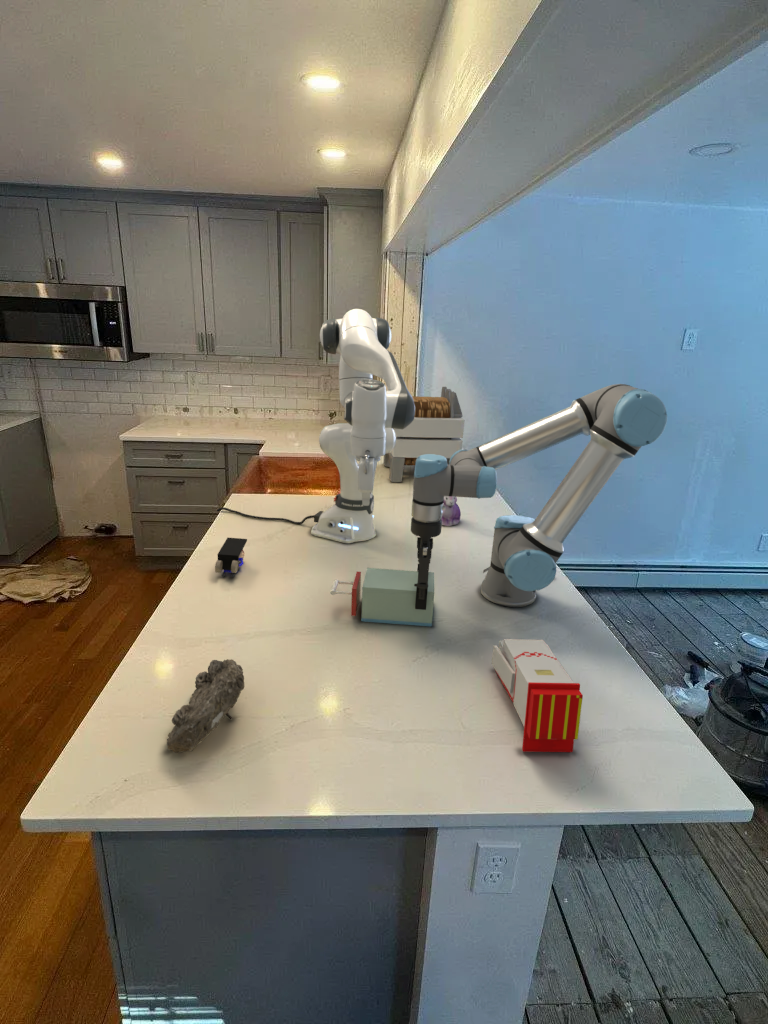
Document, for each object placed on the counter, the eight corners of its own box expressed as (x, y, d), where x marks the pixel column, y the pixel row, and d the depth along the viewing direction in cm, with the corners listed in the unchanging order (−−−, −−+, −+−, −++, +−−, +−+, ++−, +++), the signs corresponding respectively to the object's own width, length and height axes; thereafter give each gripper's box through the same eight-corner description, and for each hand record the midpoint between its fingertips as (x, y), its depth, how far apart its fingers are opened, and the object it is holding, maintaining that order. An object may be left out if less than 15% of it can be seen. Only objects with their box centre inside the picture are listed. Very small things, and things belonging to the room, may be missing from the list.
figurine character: (238, 584, 162) (249, 557, 175) (236, 562, 158) (247, 536, 172) (215, 584, 161) (227, 556, 175) (212, 561, 158) (225, 535, 171)
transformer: (382, 463, 289) (386, 382, 275) (445, 464, 293) (451, 384, 279) (390, 482, 257) (394, 392, 243) (460, 483, 261) (468, 394, 247)
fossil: (192, 660, 117) (244, 628, 112) (224, 691, 120) (276, 661, 115) (142, 746, 98) (202, 712, 93) (182, 779, 101) (242, 748, 96)
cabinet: (361, 621, 143) (362, 587, 140) (365, 599, 154) (367, 567, 151) (431, 626, 142) (434, 592, 139) (431, 604, 153) (434, 572, 150)
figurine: (446, 528, 206) (449, 489, 201) (431, 519, 215) (434, 481, 210) (467, 524, 211) (471, 486, 206) (452, 516, 219) (455, 478, 214)
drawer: (328, 614, 144) (329, 587, 141) (334, 595, 153) (335, 569, 151) (415, 620, 143) (417, 593, 140) (416, 601, 152) (418, 575, 150)
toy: (540, 622, 128) (592, 691, 98) (535, 677, 130) (584, 759, 101) (487, 621, 127) (523, 690, 98) (483, 676, 130) (516, 758, 101)
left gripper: (379, 456, 132) (377, 512, 137) (381, 439, 152) (379, 488, 156) (352, 455, 132) (351, 511, 137) (358, 438, 152) (356, 487, 156)
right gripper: (443, 537, 127) (435, 622, 135) (441, 503, 150) (435, 577, 157) (409, 534, 128) (404, 619, 135) (412, 501, 150) (407, 575, 157)
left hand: (366, 499), depth 147 cm, fingers open, 8 cm apart
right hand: (420, 597), depth 146 cm, fingers closed on cabinet, 11 cm apart
